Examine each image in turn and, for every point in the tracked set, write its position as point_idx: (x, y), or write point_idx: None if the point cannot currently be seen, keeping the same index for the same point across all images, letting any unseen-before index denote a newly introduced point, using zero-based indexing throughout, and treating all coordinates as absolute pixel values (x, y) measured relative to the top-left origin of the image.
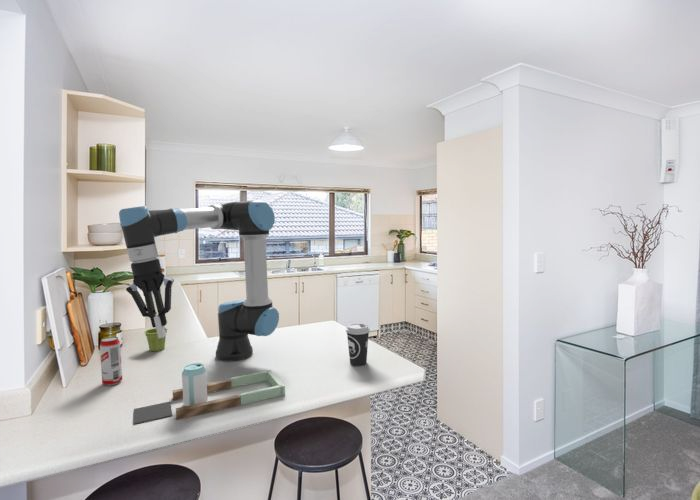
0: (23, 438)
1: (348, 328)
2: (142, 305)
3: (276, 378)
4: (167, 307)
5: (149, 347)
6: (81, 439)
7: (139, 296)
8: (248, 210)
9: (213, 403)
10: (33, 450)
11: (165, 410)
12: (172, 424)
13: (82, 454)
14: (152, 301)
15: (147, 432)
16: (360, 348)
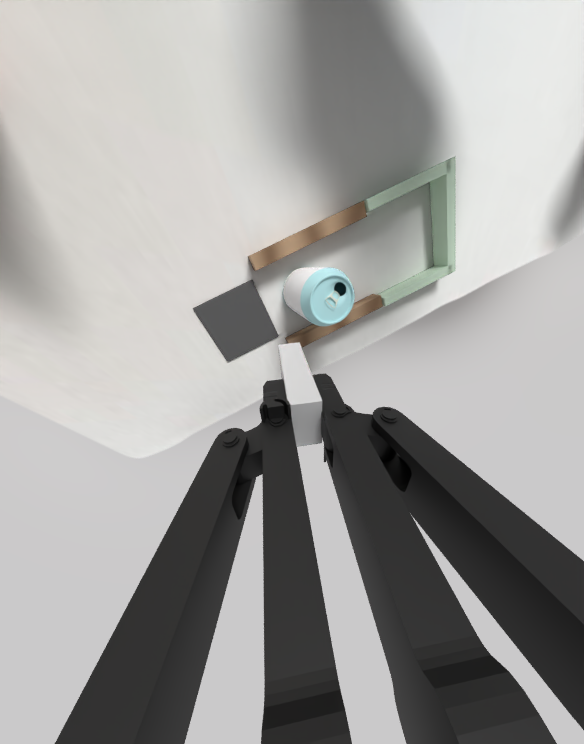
0: (57, 401)
1: None
2: (230, 552)
3: (452, 226)
4: (402, 473)
5: None
6: (172, 399)
7: (165, 713)
8: None
9: (344, 325)
10: (121, 425)
11: (260, 319)
12: None
13: (205, 426)
14: (310, 533)
15: (261, 380)
16: None
